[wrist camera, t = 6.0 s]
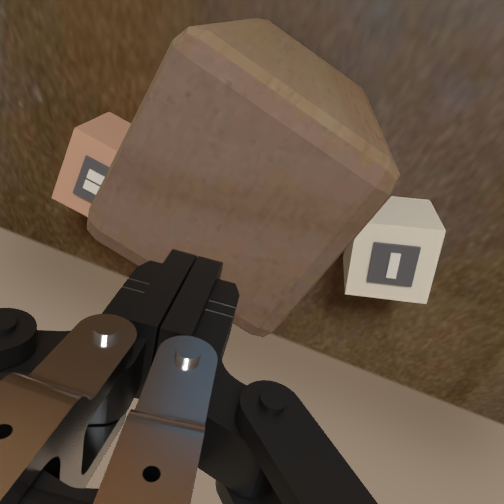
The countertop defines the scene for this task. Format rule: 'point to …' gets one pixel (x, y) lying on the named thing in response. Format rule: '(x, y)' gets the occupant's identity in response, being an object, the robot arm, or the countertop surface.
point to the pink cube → (89, 160)
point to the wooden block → (246, 166)
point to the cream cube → (395, 252)
